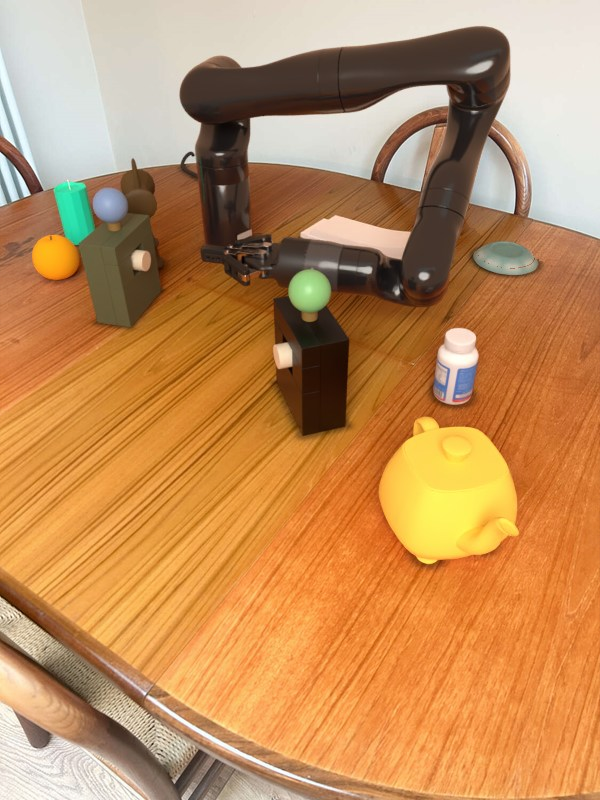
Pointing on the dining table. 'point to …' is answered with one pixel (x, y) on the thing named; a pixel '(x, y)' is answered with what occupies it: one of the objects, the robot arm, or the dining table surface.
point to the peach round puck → (140, 260)
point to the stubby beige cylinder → (282, 355)
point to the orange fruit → (55, 257)
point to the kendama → (141, 197)
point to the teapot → (448, 493)
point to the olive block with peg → (119, 261)
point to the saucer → (505, 258)
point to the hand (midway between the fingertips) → (203, 252)
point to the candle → (74, 210)
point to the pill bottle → (456, 367)
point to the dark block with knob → (312, 354)
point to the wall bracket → (358, 235)
